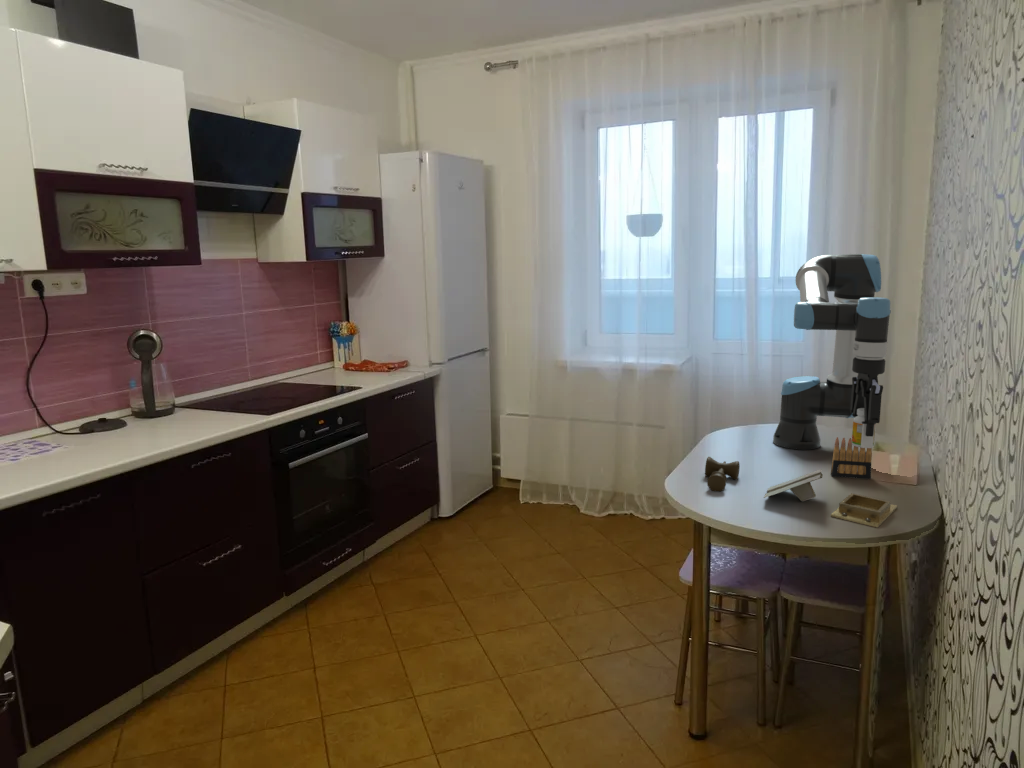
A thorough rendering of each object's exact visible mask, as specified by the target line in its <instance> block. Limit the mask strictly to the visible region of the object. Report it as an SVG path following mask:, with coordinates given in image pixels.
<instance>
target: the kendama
mask: <svg viewBox="0 0 1024 768" xmlns="http://www.w3.org/2000/svg"><path fill="white" fill-rule="evenodd" d="M704 474H705V477H706V478H707V477H708V478H707V481H706V483H707V484H706V485H707V487H708V488H709V489H708V490H710V491H712V492H722V491H724V490H725V489H726V486H727V480H728V479H727V476H728V477H729V478H731V479H733V480H736V481H737V480H738V479H739V475H740V461H738V460H735V461H731V462H729V463H727V461H723V462H720V461H717V460H716V459H714V458H712V457H711V456H708V457H706V460H705V465H704Z"/></svg>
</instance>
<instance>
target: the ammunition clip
mask: <svg viewBox="0 0 1024 768" xmlns="http://www.w3.org/2000/svg"><path fill="white" fill-rule="evenodd" d="M834 441H835V442H834V448H833V451H832V462H831V468H830V476H831V477H835V478H847V479H862V480H863V479H865V480H871V479H872V458H873V457H872V456H873V451H872V449H873V448H861V447H856V446H854V445H852V437H849V438H848V441H847V446H846V438H845V437H842V439H841V442H840V440H839V437H836V438H835V440H834ZM840 443H841V444H840Z"/></svg>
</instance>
